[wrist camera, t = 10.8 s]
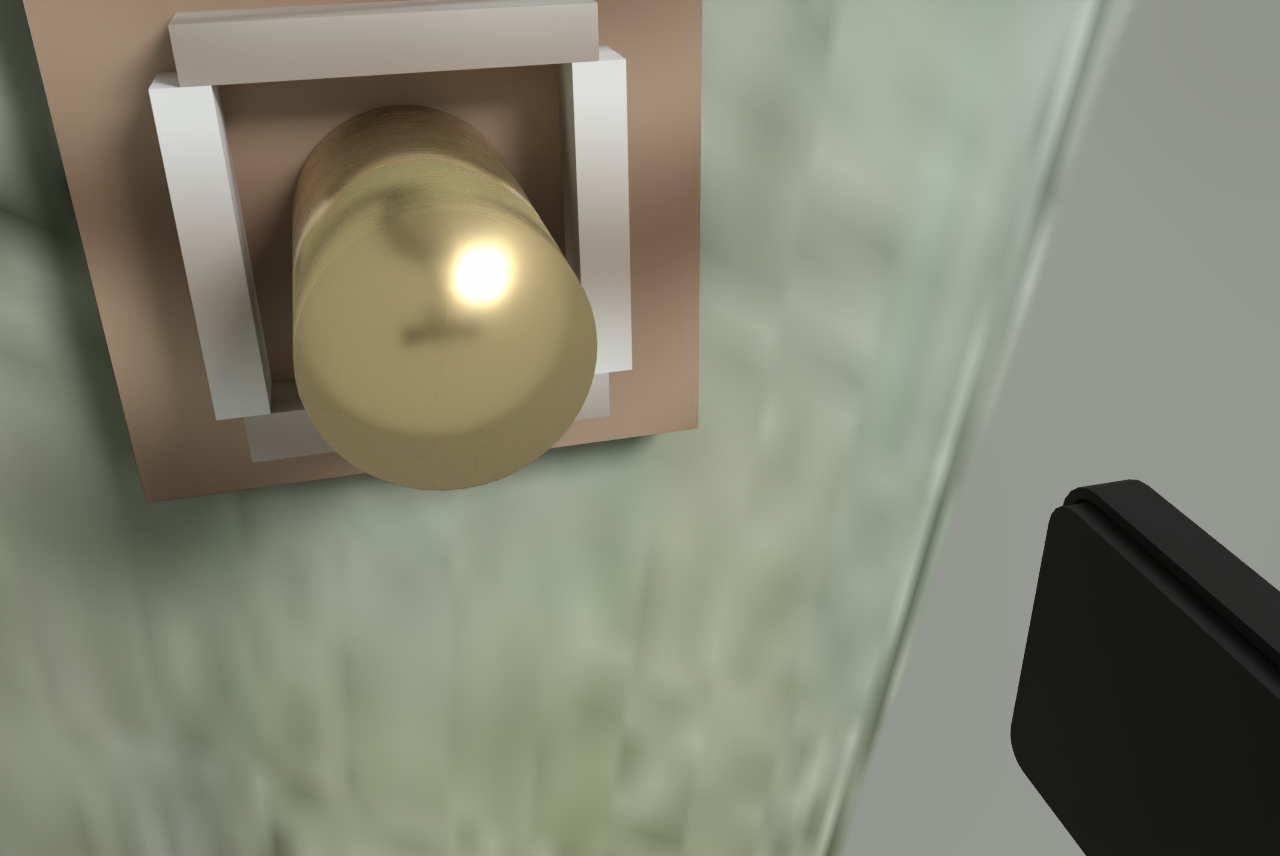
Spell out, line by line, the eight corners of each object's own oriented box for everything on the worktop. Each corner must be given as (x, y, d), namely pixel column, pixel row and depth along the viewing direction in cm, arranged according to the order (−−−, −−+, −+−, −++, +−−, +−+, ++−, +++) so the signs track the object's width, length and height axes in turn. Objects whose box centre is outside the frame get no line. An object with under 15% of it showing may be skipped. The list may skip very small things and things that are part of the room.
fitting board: (23, -77, 21) (-16, -62, 18) (679, -98, 23) (728, -89, 21) (153, 468, 26) (137, 541, 23) (679, 400, 28) (717, 458, 26)
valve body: (275, 112, 22) (270, 227, 16) (512, 96, 23) (593, 199, 17) (309, 333, 24) (316, 509, 18) (525, 309, 25) (601, 469, 19)
